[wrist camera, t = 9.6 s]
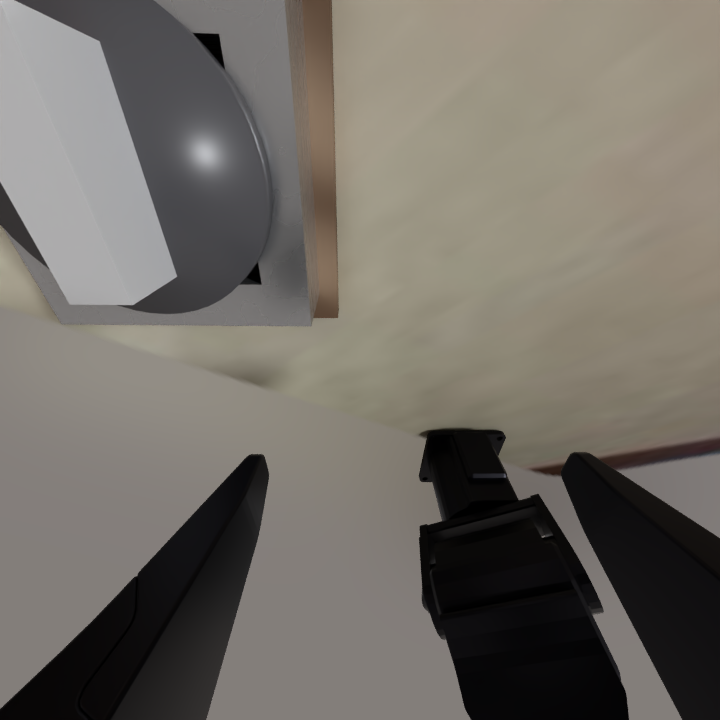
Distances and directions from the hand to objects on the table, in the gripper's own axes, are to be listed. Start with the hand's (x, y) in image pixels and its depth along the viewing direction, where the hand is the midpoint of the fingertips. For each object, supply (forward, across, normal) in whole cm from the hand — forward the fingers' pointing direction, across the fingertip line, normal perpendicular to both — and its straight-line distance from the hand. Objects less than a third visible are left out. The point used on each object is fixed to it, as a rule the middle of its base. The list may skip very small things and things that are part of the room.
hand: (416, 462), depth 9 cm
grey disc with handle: (+9, +9, -7) cm, 15 cm away
